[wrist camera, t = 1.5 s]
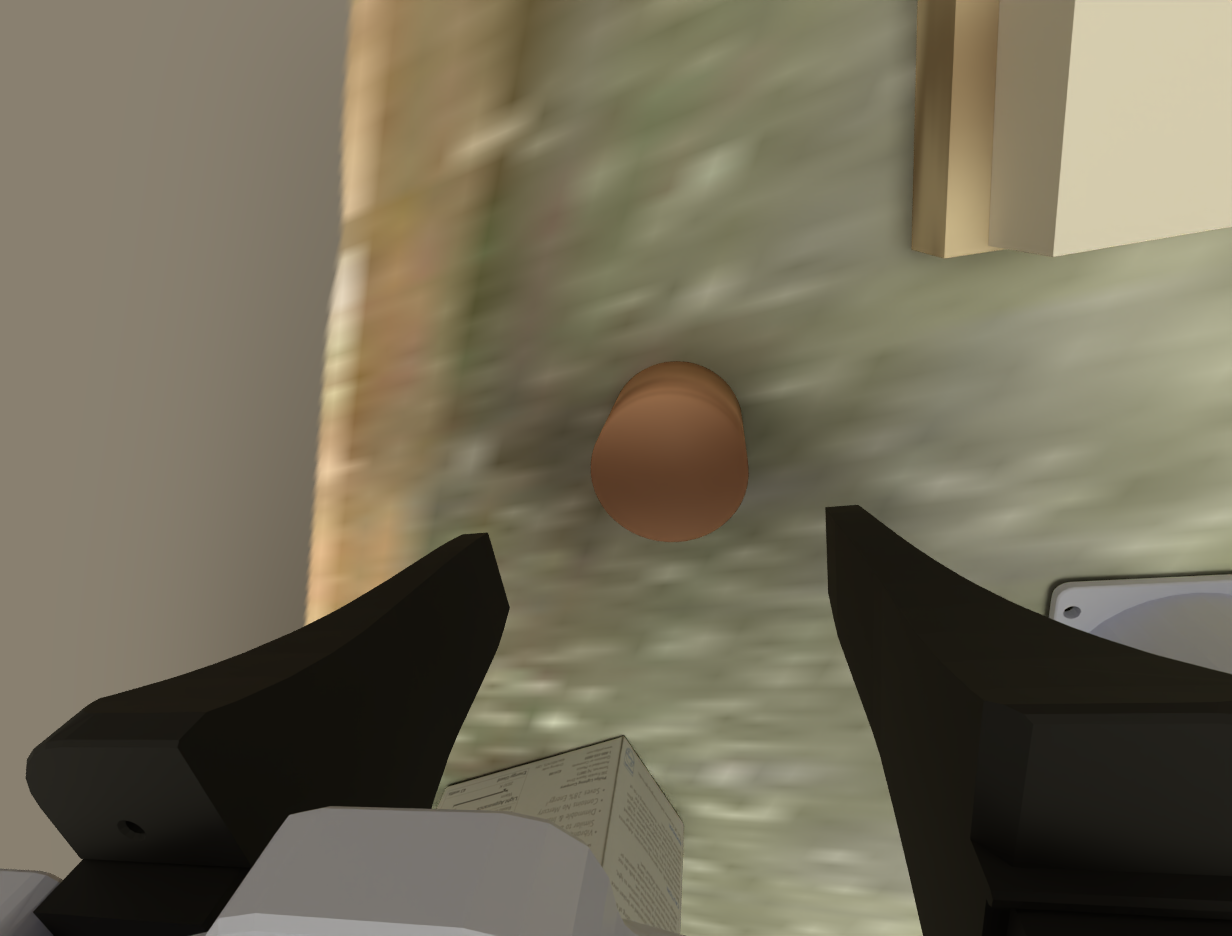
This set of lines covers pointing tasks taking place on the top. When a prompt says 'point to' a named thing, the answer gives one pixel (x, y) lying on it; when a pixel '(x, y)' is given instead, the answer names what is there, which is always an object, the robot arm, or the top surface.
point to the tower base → (954, 126)
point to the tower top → (1110, 123)
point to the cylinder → (672, 454)
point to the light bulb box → (599, 820)
